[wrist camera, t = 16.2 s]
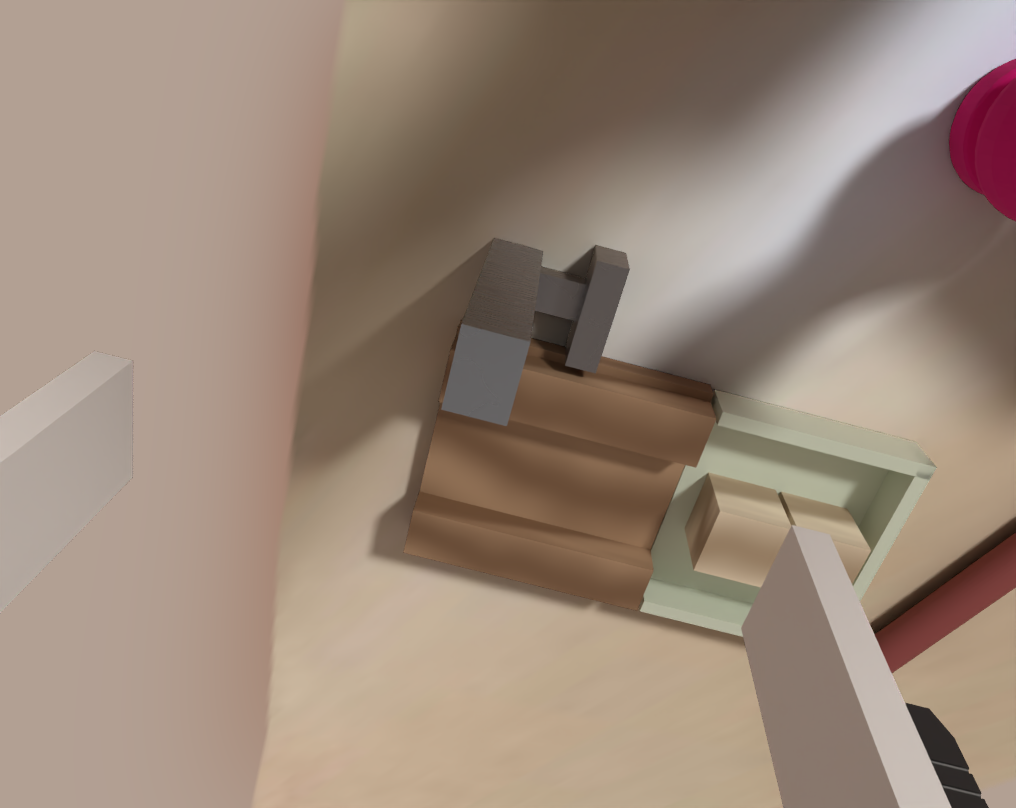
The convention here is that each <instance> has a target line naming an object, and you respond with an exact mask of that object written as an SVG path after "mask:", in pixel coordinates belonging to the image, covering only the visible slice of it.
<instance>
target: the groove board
mask: <svg viewBox="0 0 1016 808" xmlns="http://www.w3.org/2000/svg"><path fill="white" fill-rule="evenodd" d="M462 321H463V320H461V321H460V323H459V326H458V329H457V333H456V337H455V339H454V342H453V345H452V347H451V350H450V354H449V358H448V363H447V367H446V371H445V376H444V380H443V384H442V389H441V393H440V397H439V401H438V402H440V406H439V410H438V414H437V419H436V423H435V427H434V432H433V436H432V440H431V444H430V449H429V453H428V457H427V461H426V466H425V470H424V474H423V479H422V483H421V487H420V491H419V494H418V497H417V500H416V503H415V506H414V509H413V513H412V518H411V522H410V526H409V530H408V535H407V539H406V543H405V548H404V552H403V553H407V554H411V555H415V556H419V557H423V558H427V559H431V560H435V561H439V562H443V563H447V564H451V565H455V566H459V567H464V568H468V569H472V570H476V571H480V572H484V573H488V574H492V575H496V576H500V577H504V578H508V579H512V580H516V581H520V582H524V583H528V584H532V585H536V586H540V587H544V588H548V589H552V590H556V591H560V592H564V593H568V594H572V595H576V596H580V597H584V598H588V599H592V600H596V601H600V602H604V603H608V604H612V605H616V606H620V607H624V608H628V609H632V610H636V611H637V610H638V607H639V605H640V603H641V600H642V598H643V595H644V593H645V590H646V588H647V586H648V583H649V581H650V578H651V576H652V574H653V571H654V570H653V563H652V556H651V547H652V545H653V542H654V540H655V538H656V535H657V533H658V530H659V528H660V525H661V523H662V520H663V518H664V515H665V513H666V510H667V508H668V505H669V503H670V501H671V498H672V496H673V493H674V491H675V488H676V486H677V483H678V481H679V478H680V476H681V473H682V471H683V468H684V466H685V465H687V466H691V467H695V468H696V467H697V465H698V462H699V460H700V457H701V455H702V453H703V450H704V448H705V445H706V443H707V441H708V438H709V436H710V433H711V431H712V428H713V426H714V424H715V421H716V416H715V414H714V411H713V408H712V405H711V399H712V397H713V394H714V393H713V391H712V388H711V386H710V385H709V384H705V383H702V382H698V381H694V380H690V379H686V378H682V377H679V376H675V375H671V374H667V373H663V372H659V371H656V370H652V369H648V368H644V367H640V366H636V365H633V364H629V363H625V362H621V361H617V360H613V359H610V358H606V357H602V356H601V359H600V362H599V365H598V368H597V371H596V373H592V372H588V371H584V370H580V369H576V368H573V367H569V366H565V353H566V347H564V346H560V345H556V344H552V343H548V342H545V341H541V340H537V339H533V338H531V342H530V346H529V349H528V353H527V356H526V360H525V363H524V367H523V371H522V374H521V378H520V381H519V385H518V388H517V392H516V396H515V399H514V403H513V406H512V410H511V413H510V417H509V420H508V424H507V426H503V425H500V424H496V423H492V422H488V421H484V420H480V419H476V418H472V417H468V416H464V415H461V414H457V413H453V412H449V411H445V410H441V408H442V404H443V400H444V396H445V392H446V387H447V383H448V379H449V375H450V370H451V366H452V362H453V358H454V353H455V349H456V345H457V341H458V336H459V332H460V328H461V324H462Z"/></svg>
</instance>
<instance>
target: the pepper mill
mask: <svg viewBox="0 0 1016 808" xmlns="http://www.w3.org/2000/svg"><path fill="white" fill-rule="evenodd" d="M949 146H950V157H951V161H952V164H953V167H954V169H955V170H956V172H957V174H958V175H959V177H960V179H961V180H962V181H963V182H964V183H965V184H966V185H967V186H969V187H970V188H971V189H973V190H975V191H976V192H978V193H980V194H983V195H985V196H986V198H987V200H988V201H989V202H990V203H991V204H992V205H993V206H994V207H995V208H996V209H997V210H998V211H1000V212H1001V213H1002V214H1004V215H1005V216H1006V217H1008V218H1010V219H1012V220H1014V221H1016V59H1014V60H1011V61H1009V62H1007V63H1005V64H1003V65H1001V66H999V67H997V68H996V69H994V70H993V71H991V72H990V73H989V74H987V75H986V76H984V77H983V78H982V79H981V80H980V81H979V82H978V83H977V84H976V85H975V86H974V87H973V88H972V89H971V90H970V92H969V93H968V94H967V95H966V97H965V98H964V100H963V102H962V103H961V105H960V107H959V109H958V110H957V113H956V115H955V118H954V121H953V124H952V126H951V132H950V139H949Z"/></svg>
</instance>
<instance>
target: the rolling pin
mask: <svg viewBox="0 0 1016 808" xmlns="http://www.w3.org/2000/svg"><path fill="white" fill-rule="evenodd" d="M1014 588H1016V533H1014V534H1013V535H1011V536H1010V537H1009V538H1007V539H1006V540H1005V541H1003V542H1002V543H1000V544H999V545H998V546H996V547H995V548H993V549H992V550H991V551H989V552H988V553H987V554H985V555H984V556H982V557H981V558H980V559H978V560H977V561H976V562H974V563H973V564H971V565H970V566H969V567H967V568H966V569H964V570H963V571H962V572H960V573H959V574H958V575H956V576H955V577H953V578H952V579H951V580H949V581H948V582H947V583H945V584H944V585H942V586H941V587H940V588H938V589H937V590H935V591H934V592H933V593H931V594H930V595H929V596H927V597H926V598H924V599H923V600H922V601H920V602H919V603H917V604H916V605H915V606H913V607H912V608H911V609H909V610H908V611H906V612H905V613H904V614H902V615H901V616H900V617H898V618H897V619H895V620H894V621H893V622H891V623H890V624H888V625H887V626H886V627H884V628H883V629H882V630H880V631H879V632H877V633H876V634H875V637H876V639H877V642H878V644H879V646H880V648H881V651H882V653H883V655H884V657H885V659H886V662H887V664H888V666H889V668H890V671H891V673H893V672H894V671H896V670H897V669H899V668H900V667H902V666H903V665H905V664H906V663H907V662H909V661H910V660H912V659H913V658H915V657H916V656H918V655H919V654H920V653H922V652H923V651H925V650H926V649H928V648H929V647H930V646H932V645H933V644H935V643H936V642H938V641H939V640H941V639H942V638H943V637H945V636H946V635H948V634H949V633H951V632H952V631H954V630H955V629H956V628H958V627H959V626H961V625H962V624H964V623H965V622H967V621H968V620H969V619H971V618H972V617H974V616H975V615H977V614H978V613H980V612H981V611H982V610H984V609H985V608H987V607H988V606H990V605H991V604H992V603H994V602H995V601H997V600H998V599H1000V598H1001V597H1003V596H1004V595H1005V594H1007V593H1008V592H1010V591H1011V590H1013V589H1014Z"/></svg>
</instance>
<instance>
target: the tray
mask: <svg viewBox="0 0 1016 808" xmlns="http://www.w3.org/2000/svg"><path fill="white" fill-rule="evenodd" d="M713 393H714V394H713V397H712V399H711V405H712V408H713V411H714V414H715V416H716V421H715V424H714V426H713V428H712V431H711V433H710V436H709V438H708V441H707V443H706V445H705V448H704V450H703V453H702V455H701V457H700V460H699V462H698V465H697V467H696V468H695V467H691V466H687V465H685V466H684V468H683V471H682V473H681V476H680V478H679V481H678V483H677V486H676V488H675V491H674V493H673V496H672V498H671V501H670V503H669V505H668V508H667V510H666V513H665V515H664V518H663V520H662V523H661V525H660V528H659V530H658V533H657V535H656V538H655V540H654V542H653V545H652V547H651V556H652V563H653V570H654V571H653V574H652V576H651V578H650V581H649V583H648V586H647V588H646V590H645V593H644V595H643V598H642V600H641V603H640V605H639V607H640V611H641V612H645V613H649V614H653V615H657V616H661V617H665V618H669V619H673V620H677V621H681V622H685V623H689V624H693V625H697V626H701V627H705V628H709V629H713V630H717V631H721V632H725V633H729V634H733V635H737V636H741V637H743V634H742V630H741V627H742V625H743V623H744V621H745V619H746V617H747V615H748V613H749V611H750V609H751V607H752V605H753V603H754V601H755V599H756V597H757V595H758V593H759V591H760V589H761V587H757V586H753V585H749V584H745V583H741V582H737V581H733V580H729V579H725V578H721V577H717V576H714V575H710V574H706V573H702V572H698V571H694V570H693V565H692V560H691V556H690V551H689V547H688V542H687V538H686V533H685V529H684V528H685V526H686V524H687V521H688V519H689V517H690V514H691V512H692V510H693V507H694V505H695V503H696V500H697V498H698V496H699V493H700V491H701V489H702V486H703V484H704V482H705V479H706V477H707V475H708V472H709V473H713V474H717V475H721V476H725V477H729V478H732V479H736V480H740V481H744V482H748V483H752V484H755V485H759V486H763V487H767V488H771V489H775V490H776V492H777V494H778V496H779V495H780V492H785V493H789V494H793V495H797V496H801V497H804V498H808V499H812V500H816V501H820V502H823V503H827V504H831V505H835V506H839V507H842V508H846V509H848V511H849V512H850V514H851V516H852V518H853V519H854V521H855V523H856V525H857V526H858V528H859V530H860V532H861V533H862V535H863V537H864V539H865V540H866V542H867V544H868V546H869V547H870V549H871V552H870V554H869V555H868V557H867V559H866V561H865V562H864V564H863V566H862V568H861V569H860V571H859V573H858V575H857V576H856V578H855V580H854V582H853V583H852V585H853V588H854V590H855V592H856V594H857V597H858V599H859V601H860V600H861V599H862V597H863V595H864V593H865V592H866V590H867V588H868V586H869V585H870V583H871V581H872V580H873V578H874V576H875V574H876V573H877V571H878V569H879V567H880V566H881V564H882V562H883V560H884V559H885V557H886V555H887V553H888V552H889V550H890V548H891V546H892V545H893V543H894V541H895V539H896V538H897V536H898V534H899V532H900V531H901V529H902V527H903V525H904V524H905V522H906V520H907V518H908V517H909V515H910V513H911V511H912V510H913V508H914V506H915V504H916V503H917V501H918V499H919V497H920V496H921V494H922V492H923V490H924V489H925V487H926V485H927V483H928V482H929V480H930V478H931V476H932V475H933V473H934V471H935V470H936V468H937V467H936V466H935V465H934V464H933V462H932V461H931V460H930V459H929V458H928V456H927V455H926V454H925V453H924V451H923V450H922V449H921V448H920V447H919V445H918V444H917V443H916V442H914V441H910V440H906V439H902V438H899V437H895V436H891V435H887V434H883V433H879V432H876V431H872V430H868V429H864V428H860V427H856V426H853V425H849V424H845V423H841V422H837V421H833V420H830V419H826V418H822V417H818V416H814V415H810V414H807V413H803V412H799V411H795V410H791V409H787V408H784V407H780V406H776V405H772V404H768V403H765V402H761V401H757V400H753V399H749V398H745V397H742V396H738V395H734V394H730V393H726V392H722V391H719V390H715V389H714V391H713Z"/></svg>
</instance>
